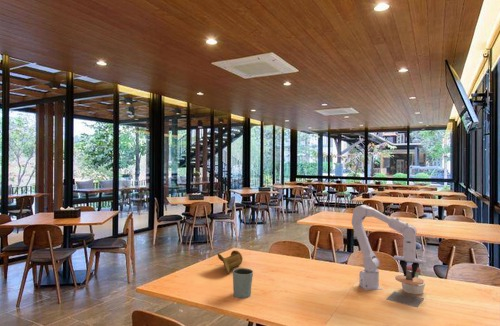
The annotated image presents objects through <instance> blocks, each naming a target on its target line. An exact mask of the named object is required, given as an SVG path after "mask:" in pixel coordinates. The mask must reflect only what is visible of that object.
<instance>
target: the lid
mask: <svg viewBox="0 0 500 326" xmlns="http://www.w3.org/2000/svg"><path fill="white" fill-rule="evenodd" d="M394 278H395V280H396V281H397V282H399V283H401V282H402V283H406V284H412V285H420V284H423V283H425V281H424V279H422V278H421V277H418V278H417V277H414V278H412V271H410V270H406V276H404V274H400V275H399V274H397V275H395V277H394ZM402 283H401V284H402Z"/></svg>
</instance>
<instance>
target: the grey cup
mask: <svg viewBox="0 0 500 326" xmlns="http://www.w3.org/2000/svg"><path fill="white" fill-rule="evenodd" d="M253 275H254V270H253V269H251V268H248V267H247V268H245V267H238V268H234V269H233V270H232V284H233V285H232V287H233V293H232V294H233V297H234V298H237V299H248V298H250V297H251V295H252V285H253V284H252V283H253Z"/></svg>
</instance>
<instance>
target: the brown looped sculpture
mask: <svg viewBox="0 0 500 326" xmlns="http://www.w3.org/2000/svg"><path fill="white" fill-rule="evenodd" d="M217 257H218V259H219V261H221V262H223V266H224V268H225V271H226V273H227V275H230V271H231V269H233V268H235V267H237V266H241V265H242V263H243V255H242V253H241V252H240V251H238V250H232V251H231V253H230V255H229V256H227V257H223V256H222V254H221V253H219V252H218V253H217Z"/></svg>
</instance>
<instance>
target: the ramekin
mask: <svg viewBox="0 0 500 326" xmlns="http://www.w3.org/2000/svg"><path fill="white" fill-rule="evenodd" d="M400 284H401V288H402V291H403V292H405V293H406V294H407V293H408V294H410V295H422V294H423V293H424V290H425V285H426V284H425V282H424V283H423V284H420V285H412V284H406V283H402V282H400Z"/></svg>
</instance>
